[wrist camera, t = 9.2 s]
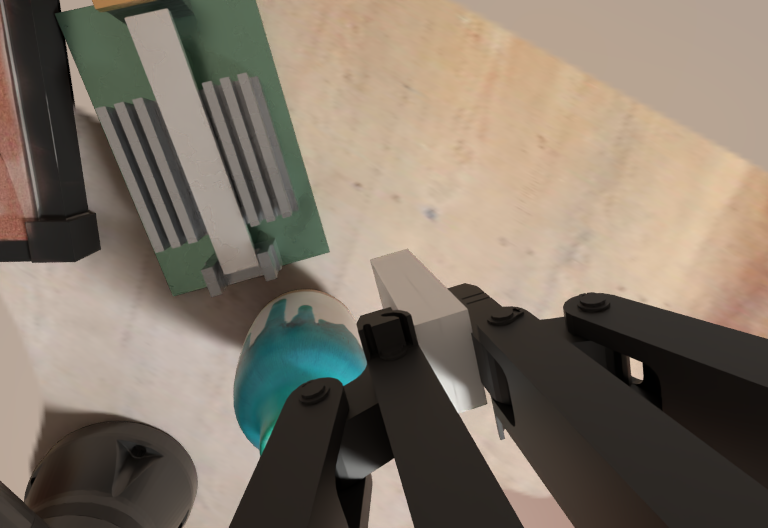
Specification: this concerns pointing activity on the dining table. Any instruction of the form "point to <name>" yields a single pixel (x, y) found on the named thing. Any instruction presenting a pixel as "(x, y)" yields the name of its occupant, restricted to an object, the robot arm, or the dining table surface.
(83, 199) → the brown labeled slab
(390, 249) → the dining table surface
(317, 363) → the vase
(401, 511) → the dining table surface
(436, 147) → the dining table surface
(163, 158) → the heatsink
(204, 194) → the strap
